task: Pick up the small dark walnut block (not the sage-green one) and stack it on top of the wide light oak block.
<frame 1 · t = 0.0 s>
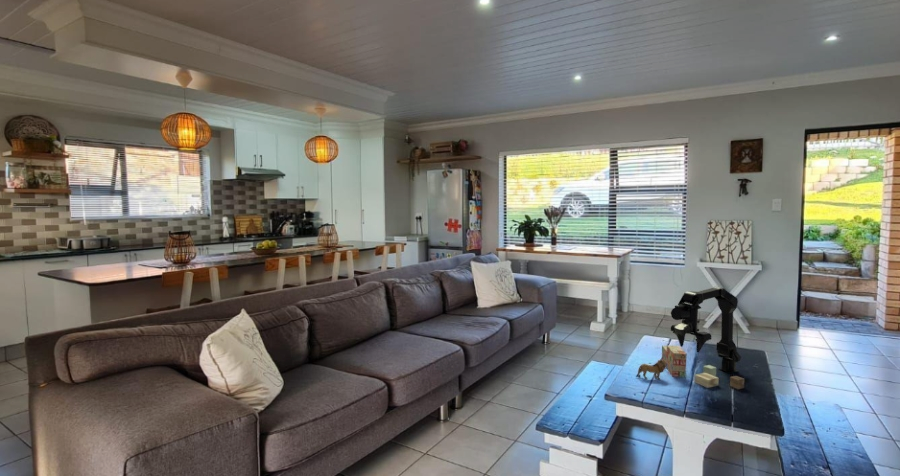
hand: (689, 349, 222), 15 cm above the table, fingers open, 9 cm apart
lion figurine: (651, 377, 225), on the table
sage block: (709, 375, 227), on the table
oak block: (706, 384, 217), on the table
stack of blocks: (673, 369, 235), on the table
walnut block: (736, 387, 213), on the table
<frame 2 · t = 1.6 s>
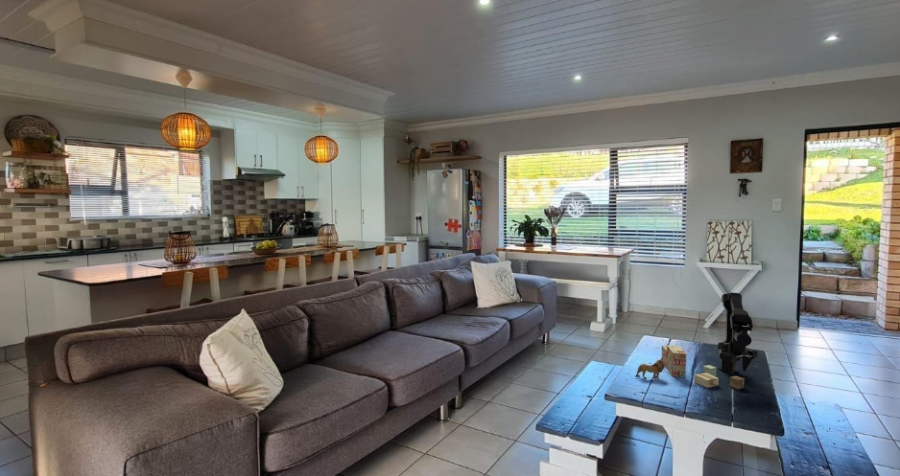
hand: (737, 372, 212), 7 cm above the table, fingers open, 9 cm apart
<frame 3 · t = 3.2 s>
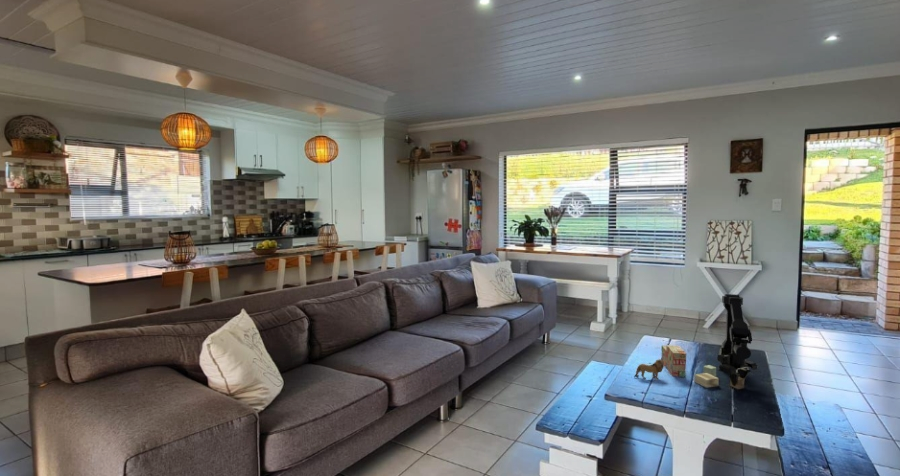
hand: (737, 384, 213), 1 cm above the table, fingers closed on walnut block, 4 cm apart
walnut block: (736, 387, 213), on the table, touching gripper
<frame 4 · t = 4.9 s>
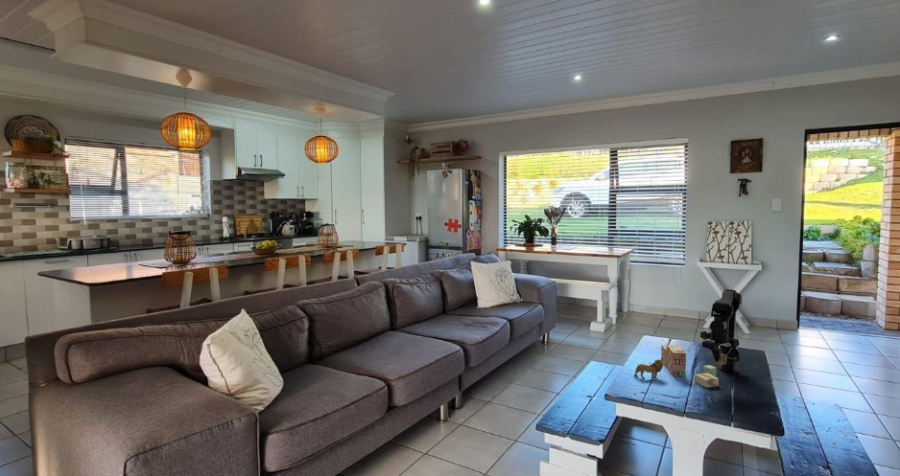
hand: (719, 361, 214), 12 cm above the table, fingers closed on walnut block, 4 cm apart
walnut block: (719, 363, 214), point 11 cm above the table, touching gripper
when the fingers open (6 cm above the table, at t = 6.8 s): walnut block drops 1 cm, point 4 cm above the table.
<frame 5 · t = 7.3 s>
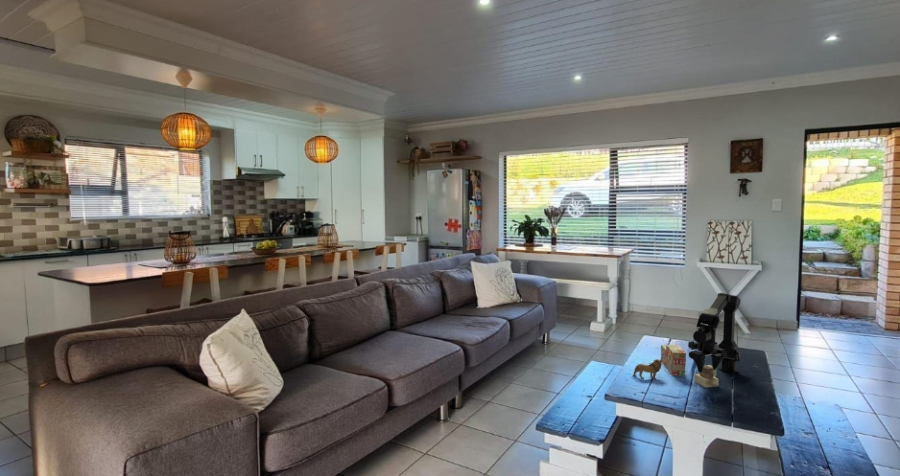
hand: (706, 371, 216), 6 cm above the table, fingers open, 9 cm apart
walnut block: (706, 376, 216), point 4 cm above the table
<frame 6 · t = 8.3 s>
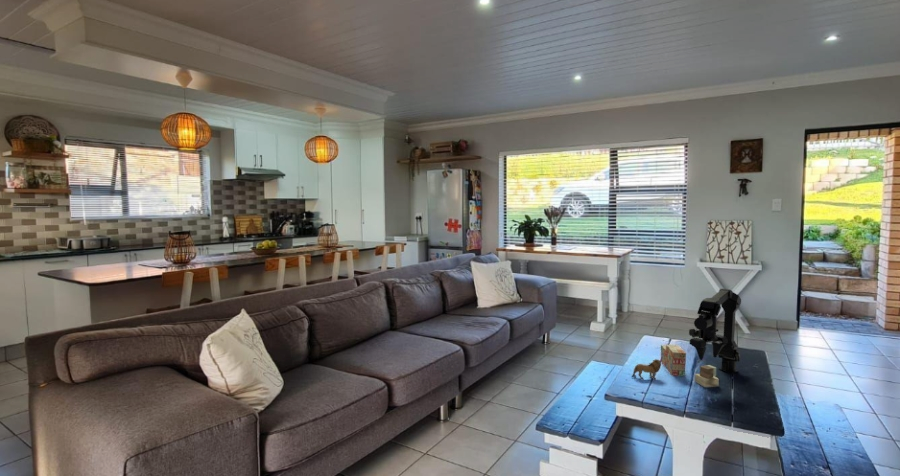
hand: (707, 358, 216), 12 cm above the table, fingers open, 9 cm apart
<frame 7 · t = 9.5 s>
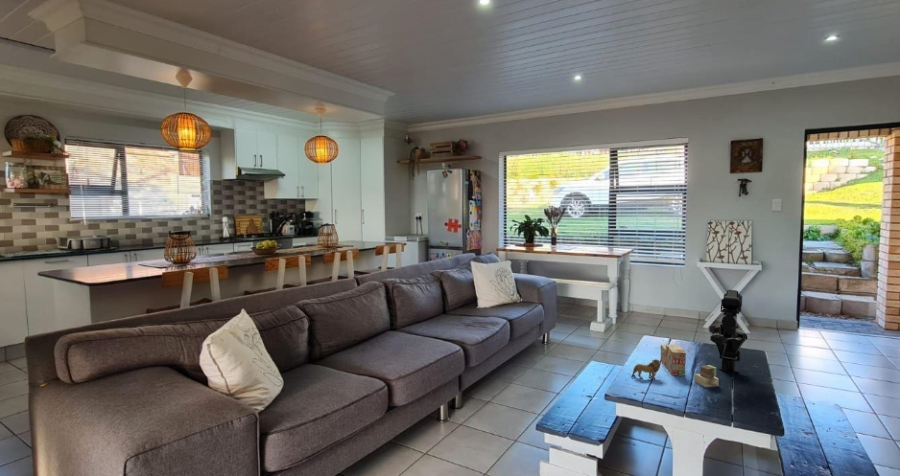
hand: (728, 354, 221), 13 cm above the table, fingers open, 9 cm apart
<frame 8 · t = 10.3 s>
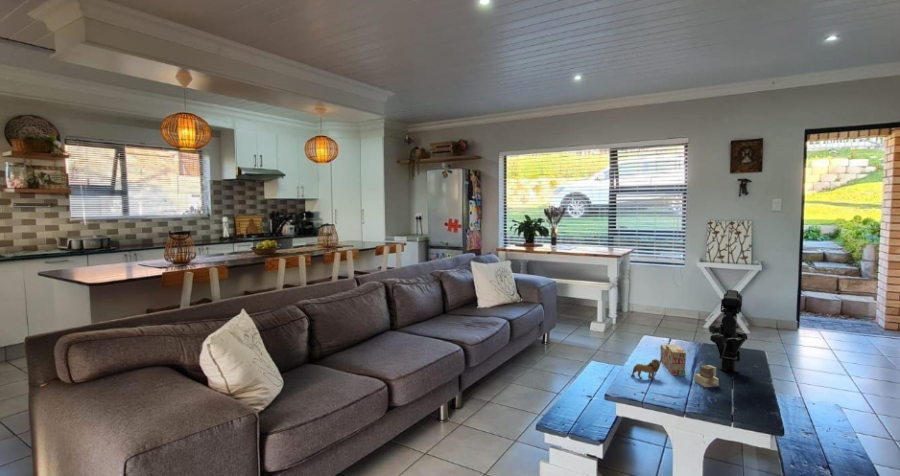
hand: (728, 354, 221), 13 cm above the table, fingers open, 9 cm apart
oak block: (706, 384, 217), on the table, touching walnut block
walnut block: (706, 376, 216), point 4 cm above the table, touching oak block
at the end: walnut block 0.1 cm off-centre on the oak block, point 4.0 cm above the oak block's base; walnut block touching oak block; walnut block tilted 0° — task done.
